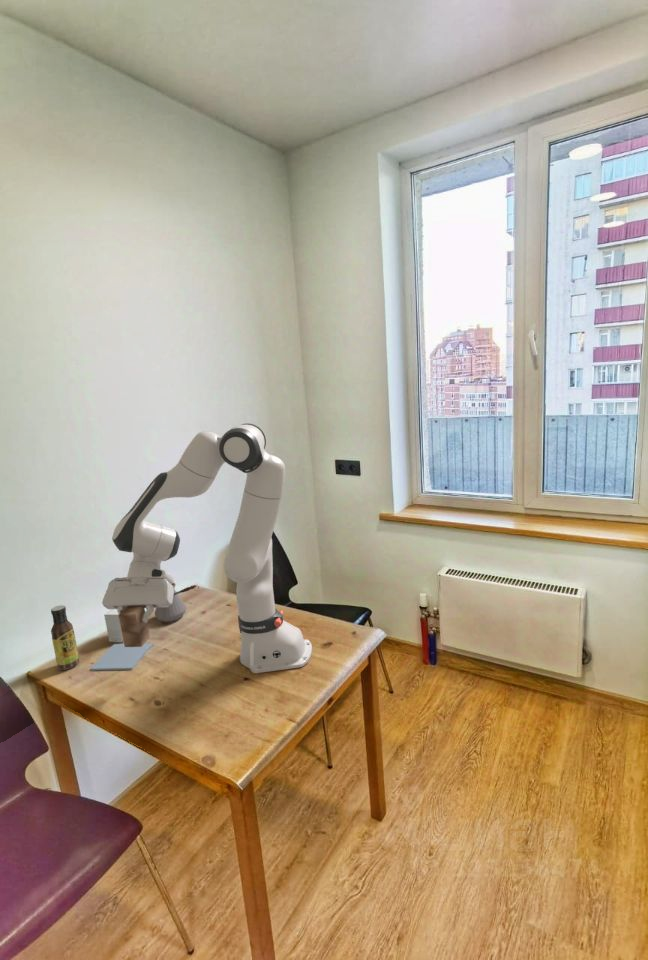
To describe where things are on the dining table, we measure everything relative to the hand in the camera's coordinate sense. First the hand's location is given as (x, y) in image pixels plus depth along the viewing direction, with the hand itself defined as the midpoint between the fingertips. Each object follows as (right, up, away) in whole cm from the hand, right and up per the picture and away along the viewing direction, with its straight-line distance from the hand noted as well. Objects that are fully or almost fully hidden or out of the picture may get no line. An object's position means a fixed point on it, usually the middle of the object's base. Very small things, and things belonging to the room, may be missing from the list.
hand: (132, 622), depth 134 cm
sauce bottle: (-27, -19, +17) cm, 38 cm away
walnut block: (+1, -6, +2) cm, 6 cm away
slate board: (-11, -17, +19) cm, 28 cm away
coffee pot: (+1, -12, +42) cm, 43 cm away
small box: (-17, -15, +33) cm, 40 cm away
